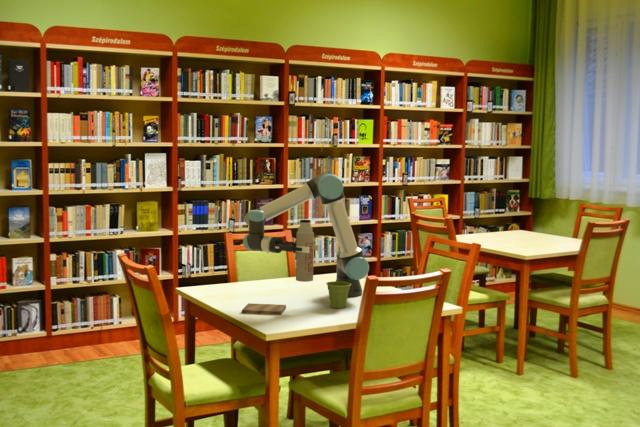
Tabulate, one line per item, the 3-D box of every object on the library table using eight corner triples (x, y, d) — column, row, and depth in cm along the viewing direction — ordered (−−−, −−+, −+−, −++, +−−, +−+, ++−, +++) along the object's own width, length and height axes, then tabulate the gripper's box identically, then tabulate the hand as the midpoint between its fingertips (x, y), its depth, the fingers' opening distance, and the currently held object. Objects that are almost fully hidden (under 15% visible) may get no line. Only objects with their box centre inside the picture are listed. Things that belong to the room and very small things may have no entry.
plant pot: (342, 310, 349) (343, 287, 348) (321, 307, 355) (321, 284, 354) (355, 306, 359) (355, 283, 358) (334, 303, 365) (334, 280, 364)
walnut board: (286, 308, 353) (286, 304, 353) (281, 314, 339) (281, 311, 339) (248, 306, 355) (248, 303, 355) (241, 313, 341) (241, 309, 341)
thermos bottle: (316, 281, 347) (317, 220, 344) (300, 282, 343) (301, 221, 340) (308, 278, 354) (309, 218, 351) (293, 279, 350) (293, 219, 347)
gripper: (285, 249, 365) (325, 254, 354) (259, 255, 348) (301, 259, 336) (285, 234, 365) (325, 238, 353) (260, 239, 347) (301, 243, 335)
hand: (313, 248), depth 344 cm, fingers closed on thermos bottle, 8 cm apart
